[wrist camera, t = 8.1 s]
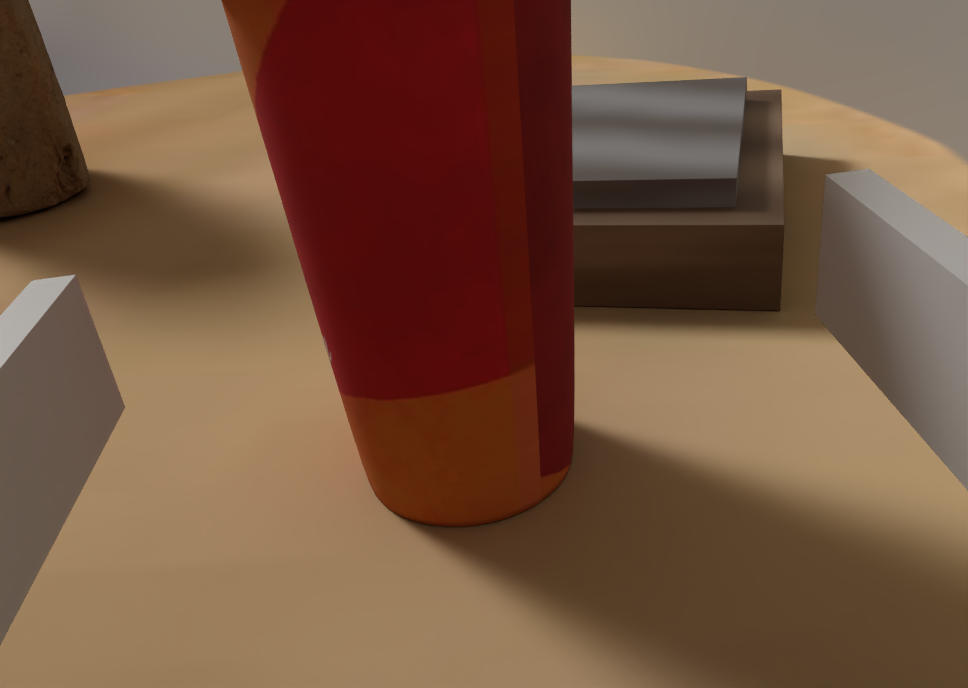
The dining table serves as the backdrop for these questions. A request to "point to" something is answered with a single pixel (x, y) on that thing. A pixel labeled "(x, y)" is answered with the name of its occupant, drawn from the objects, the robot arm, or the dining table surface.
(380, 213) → the paper cup
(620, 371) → the dining table surface
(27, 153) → the block
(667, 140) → the plinth
